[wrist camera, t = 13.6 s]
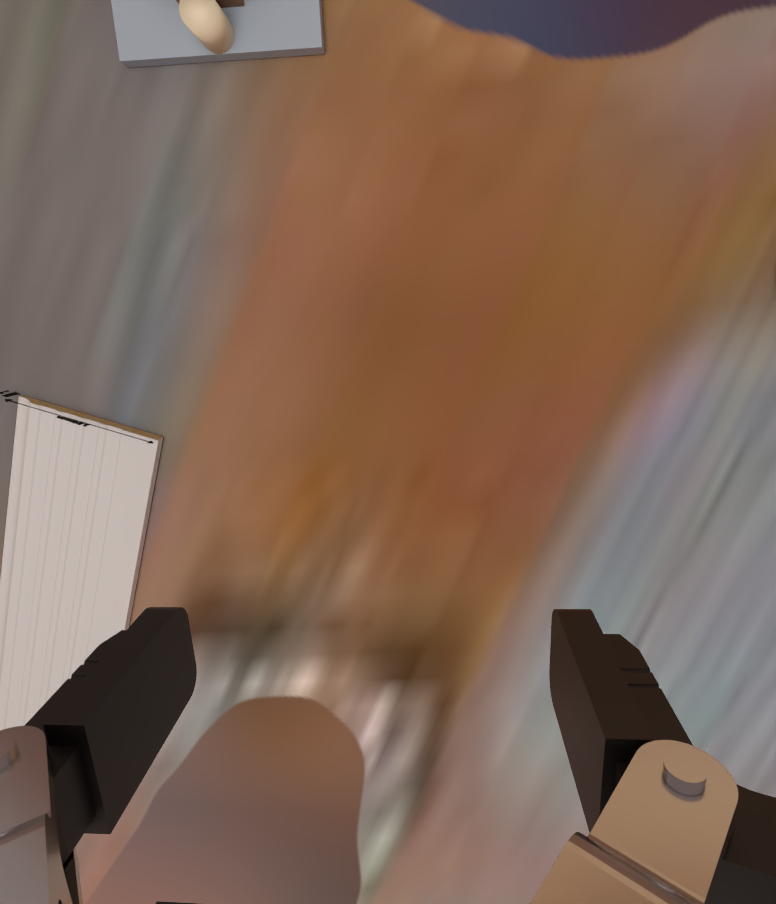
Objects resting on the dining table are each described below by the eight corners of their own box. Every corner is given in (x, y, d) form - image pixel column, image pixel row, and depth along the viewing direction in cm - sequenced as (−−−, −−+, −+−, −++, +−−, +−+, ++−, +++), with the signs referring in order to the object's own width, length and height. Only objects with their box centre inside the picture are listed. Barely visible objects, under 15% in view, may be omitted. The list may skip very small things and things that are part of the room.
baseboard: (-25, 720, 49) (108, 757, 50) (-51, 746, 47) (90, 785, 47) (7, 386, 41) (167, 434, 41) (-24, 393, 38) (149, 444, 38)
